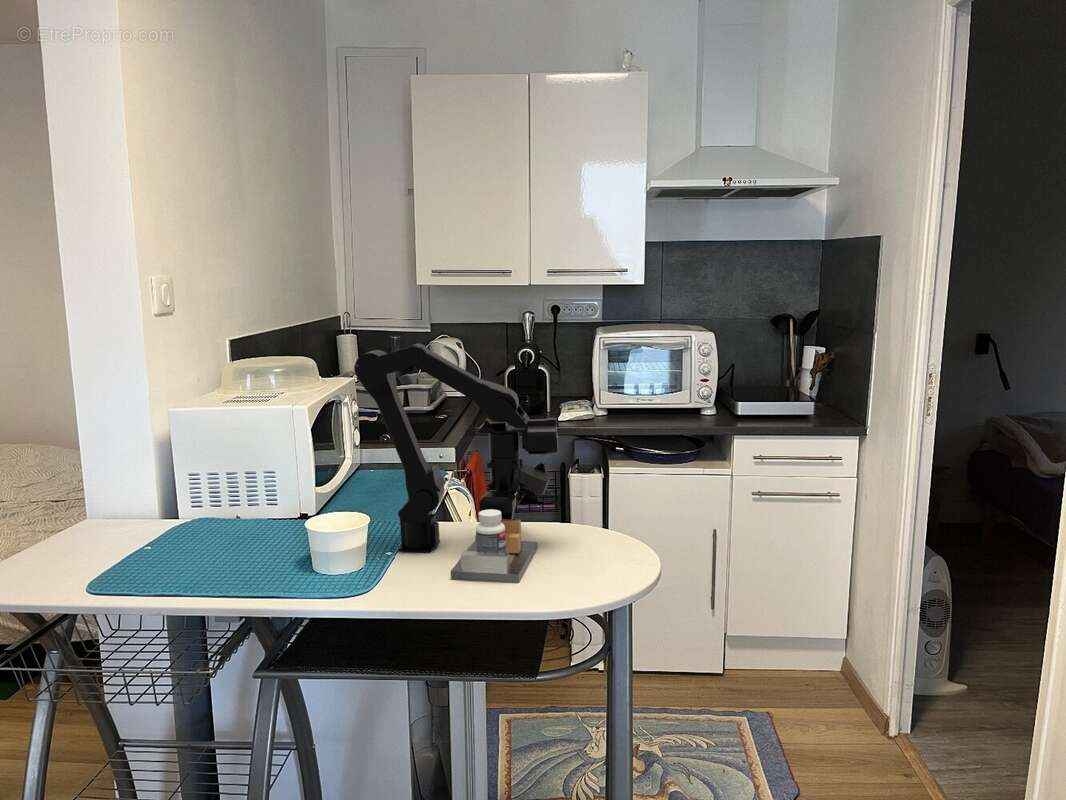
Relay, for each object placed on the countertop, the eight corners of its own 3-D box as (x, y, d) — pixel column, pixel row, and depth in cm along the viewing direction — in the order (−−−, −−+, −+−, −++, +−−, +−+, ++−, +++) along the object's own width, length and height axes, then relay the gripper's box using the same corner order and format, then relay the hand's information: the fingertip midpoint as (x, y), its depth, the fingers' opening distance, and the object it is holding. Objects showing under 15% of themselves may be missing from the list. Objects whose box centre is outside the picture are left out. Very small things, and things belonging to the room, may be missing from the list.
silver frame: (450, 579, 137) (449, 554, 136) (476, 546, 153) (475, 524, 153) (518, 582, 135) (518, 557, 134) (537, 549, 151) (536, 526, 150)
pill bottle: (504, 566, 138) (502, 517, 137) (474, 566, 139) (472, 517, 137) (508, 555, 143) (506, 508, 142) (479, 555, 144) (477, 508, 142)
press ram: (475, 551, 145) (474, 530, 145) (485, 538, 153) (484, 518, 152) (518, 553, 144) (517, 532, 143) (526, 539, 151) (525, 519, 150)
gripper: (538, 469, 140) (540, 552, 143) (554, 443, 158) (555, 517, 161) (476, 467, 142) (480, 550, 145) (499, 442, 160) (502, 515, 163)
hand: (507, 532), depth 153 cm, fingers closed
